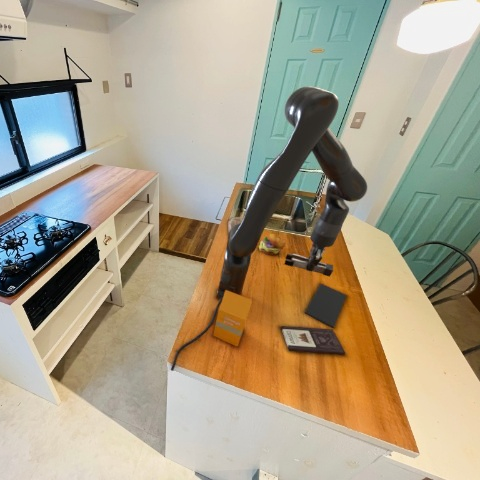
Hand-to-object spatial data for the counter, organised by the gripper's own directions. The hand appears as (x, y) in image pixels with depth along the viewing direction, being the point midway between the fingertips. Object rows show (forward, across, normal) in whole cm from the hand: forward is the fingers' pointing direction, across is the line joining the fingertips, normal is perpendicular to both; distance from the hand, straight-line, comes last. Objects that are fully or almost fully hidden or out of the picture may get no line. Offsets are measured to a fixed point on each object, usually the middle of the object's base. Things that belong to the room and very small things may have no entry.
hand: (309, 267), depth 99 cm
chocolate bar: (+14, -22, -6) cm, 27 cm away
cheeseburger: (+14, +25, +15) cm, 33 cm away
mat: (+14, -1, -11) cm, 18 cm away
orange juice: (+14, -33, +20) cm, 42 cm away
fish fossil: (+14, +36, +35) cm, 52 cm away
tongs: (0, 0, +1) cm, 1 cm away
